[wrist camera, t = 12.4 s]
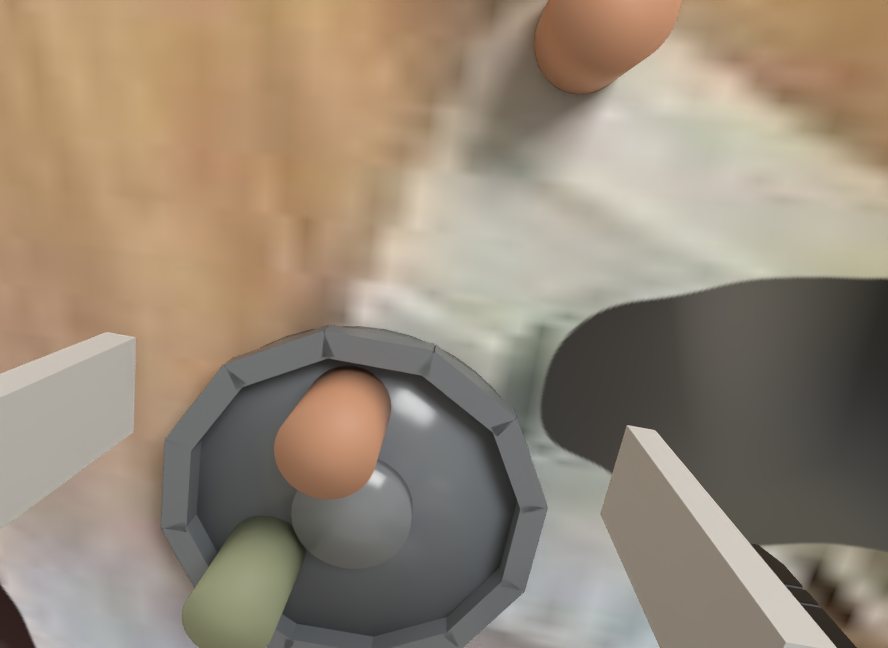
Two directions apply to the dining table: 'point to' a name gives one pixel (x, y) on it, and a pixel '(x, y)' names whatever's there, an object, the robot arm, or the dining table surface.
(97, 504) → the dining table surface
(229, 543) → the olive bead
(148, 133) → the dining table surface
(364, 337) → the groove tray
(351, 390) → the terracotta bead
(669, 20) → the terracotta bead
